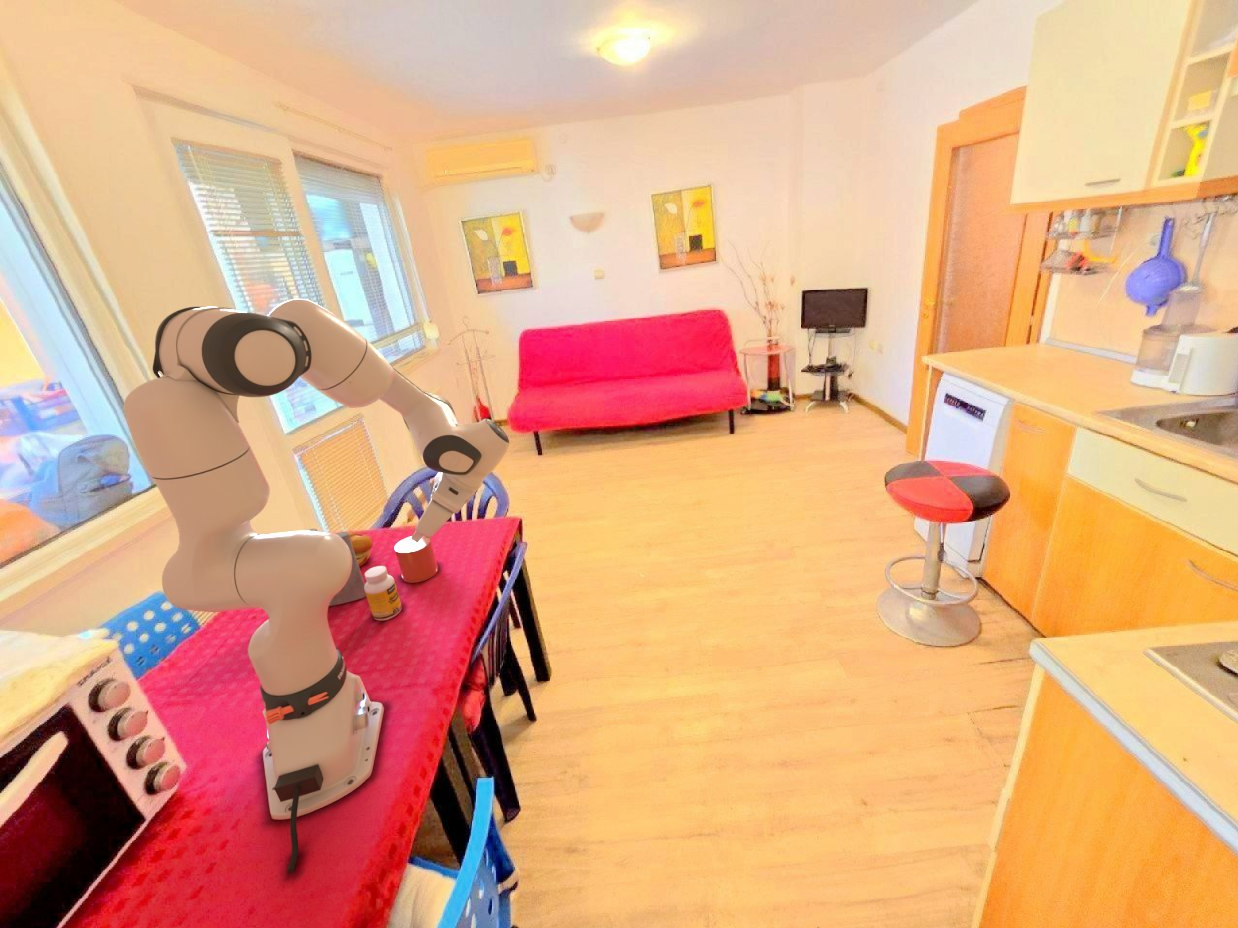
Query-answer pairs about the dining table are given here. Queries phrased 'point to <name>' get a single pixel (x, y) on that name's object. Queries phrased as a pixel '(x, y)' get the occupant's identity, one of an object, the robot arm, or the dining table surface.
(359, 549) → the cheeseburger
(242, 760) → the dining table surface
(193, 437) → the robot arm
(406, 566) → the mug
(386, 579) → the pill bottle
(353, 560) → the hip flask
